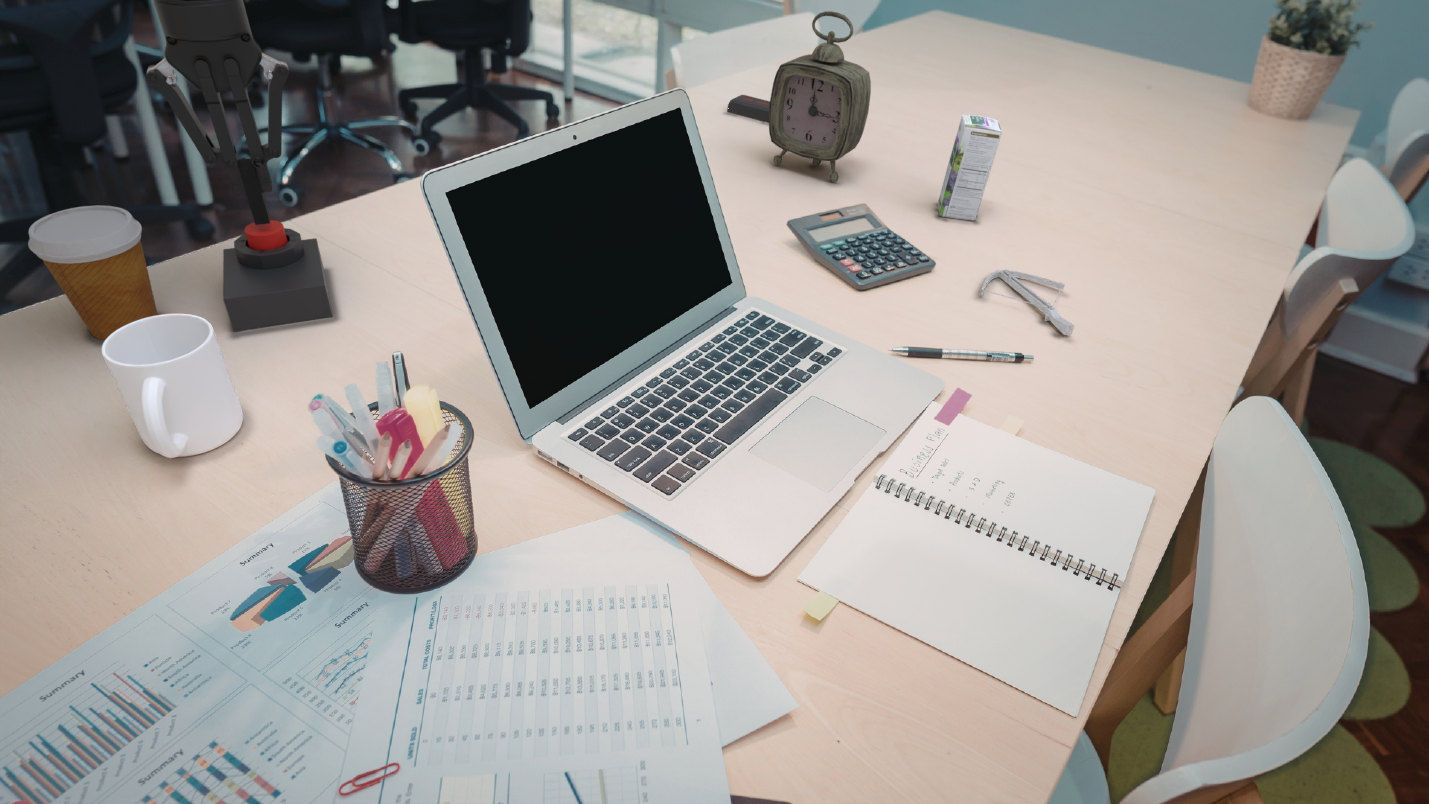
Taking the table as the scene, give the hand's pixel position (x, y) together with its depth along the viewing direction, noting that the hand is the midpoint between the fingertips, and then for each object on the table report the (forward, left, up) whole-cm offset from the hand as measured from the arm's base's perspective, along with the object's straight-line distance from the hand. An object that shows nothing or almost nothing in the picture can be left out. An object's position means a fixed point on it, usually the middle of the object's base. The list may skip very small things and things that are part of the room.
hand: (262, 218), depth 92 cm
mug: (+27, -9, -9) cm, 30 cm away
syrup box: (+6, +97, -9) cm, 98 cm away
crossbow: (+33, +88, -9) cm, 95 cm away
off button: (0, 0, -3) cm, 3 cm away
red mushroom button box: (+3, 0, -9) cm, 9 cm away
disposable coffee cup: (+4, -16, -9) cm, 18 cm away
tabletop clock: (-16, +83, -9) cm, 85 cm away
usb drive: (-43, +87, -9) cm, 98 cm away
